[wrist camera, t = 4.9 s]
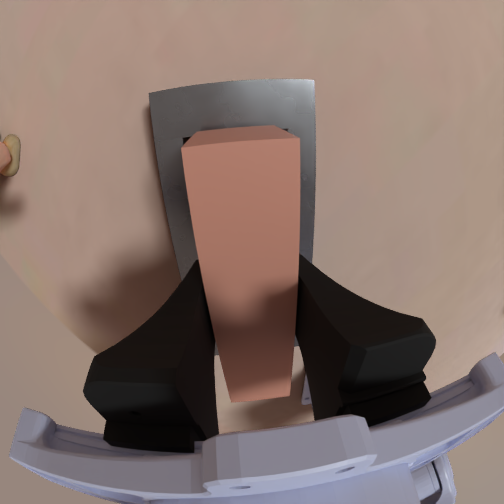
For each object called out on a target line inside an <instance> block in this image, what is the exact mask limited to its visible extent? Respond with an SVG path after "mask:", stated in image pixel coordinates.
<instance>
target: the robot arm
mask: <svg viewBox="0 0 504 504" xmlns="http://www.w3.org/2000/svg"><path fill="white" fill-rule="evenodd" d="M295 336H296V338H297V341H298V344H299V347H300V350H301V354H302V357H303V362H304V366H305V371H306V375H305V381H304V387H303V393H302V399H301V403H302V404H303V405H308V404H311V405H312V409H313V413H314V420H315V421H312V422H307V423H301V424H295V425H289V426H283V427H276V428H268V429H259V430H250V431H238V432H232V433H225V434H219V429H218V419H217V407H216V393H215V375H214V355H215V342H216V340H215V335H214V331H213V327H212V322H211V318H210V313H209V308H208V304H207V299H206V294H205V289H204V284H203V279H202V274H201V269H200V264H199V260H196V261H195V262H194V263H193V265H192V267H191V268H190V270H189V271H188V273H187V274H186V276H185V277H184V279H183V280H182V282H181V283H180V284H179V286H178V287H177V289H176V290H175V291H174V292H173V294H172V295H171V296H170V297H169V299H168V300H167V301H166V302H165V304H164V305H163V306H162V307H161V308H160V309H159V310H158V311H157V312H156V313H155V314H154V315H153V316H152V317H151V318H150V319H149V320H147V321H146V322H145V323H144V324H143V325H142V326H140V327H139V328H138V329H137V330H136V331H134V332H133V333H131V334H130V335H129V336H127V337H126V338H124V339H123V340H122V341H120V342H119V343H117V344H115V345H114V346H112V347H110V348H108V349H107V350H105V351H103V352H101V353H100V354H98V355H96V356H94V358H93V361H92V363H91V366H90V369H89V372H88V375H87V379H86V382H85V386H84V389H83V393H84V396H85V397H86V399H87V400H88V402H89V403H90V404H91V405H92V406H93V407H94V408H95V409H96V410H97V411H98V412H99V413H100V414H101V415H102V416H103V417H104V418H105V419H106V424H105V430H104V434H100V433H95V432H89V431H84V430H79V429H75V428H70V427H66V426H62V425H58V424H56V423H55V422H54V421H53V420H52V419H51V418H50V417H49V416H47V415H46V414H44V413H41V412H38V411H35V410H32V409H28V408H23V410H22V413H21V416H20V419H19V422H18V425H17V428H16V431H15V435H14V438H13V442H12V446H11V450H10V454H9V457H10V458H11V459H12V460H14V461H16V462H17V463H19V464H21V465H22V466H24V467H25V468H27V469H29V470H31V471H32V472H34V473H36V474H38V475H39V476H41V477H43V478H45V479H47V480H49V481H52V482H55V483H57V484H60V485H62V486H65V487H68V488H70V489H73V490H76V491H79V492H82V493H85V494H88V495H91V496H95V497H98V498H102V499H105V500H109V501H113V502H117V503H121V504H455V502H456V500H455V497H456V495H457V492H456V488H455V485H454V481H453V478H454V476H453V471H452V468H451V464H450V461H449V459H448V456H447V452H449V451H450V450H452V449H453V448H455V447H457V446H458V445H460V444H461V443H463V442H465V441H466V440H468V439H469V438H471V437H472V436H474V435H475V434H476V433H478V432H479V431H481V430H482V429H484V428H485V427H486V426H488V425H489V424H490V423H491V422H492V421H494V420H495V419H496V418H497V417H498V416H499V415H500V414H501V413H502V412H504V364H503V362H502V361H501V359H500V358H499V357H498V355H497V354H496V352H494V353H492V354H490V355H489V356H487V357H485V358H483V359H481V360H480V361H479V362H478V363H476V364H475V365H474V367H473V368H472V369H471V371H470V372H469V374H468V375H467V376H465V377H463V378H461V379H459V380H457V381H455V382H453V383H451V384H449V385H447V386H445V387H442V388H440V389H438V390H436V391H434V392H431V393H429V392H428V390H427V388H426V386H425V384H424V382H423V381H425V380H426V376H425V374H424V372H423V368H424V367H425V365H426V364H427V362H428V360H429V359H430V357H431V355H432V353H433V351H434V349H435V345H436V339H435V336H434V335H433V333H432V332H431V330H430V329H429V328H428V326H427V325H426V323H425V322H424V320H423V319H422V318H418V317H414V316H410V315H406V314H402V313H399V312H396V311H393V310H390V309H387V308H384V307H382V306H379V305H377V304H375V303H373V302H370V301H368V300H366V299H364V298H362V297H360V296H358V295H356V294H354V293H353V292H351V291H349V290H347V289H346V288H344V287H342V286H341V285H339V284H338V283H336V282H335V281H334V280H332V279H331V278H329V277H328V276H327V275H325V274H324V273H323V272H321V271H320V270H319V269H318V268H316V267H315V266H314V265H313V264H312V263H310V262H309V261H308V260H307V259H306V258H305V257H304V256H302V255H301V254H300V253H299V270H298V292H297V310H296V326H295Z"/></svg>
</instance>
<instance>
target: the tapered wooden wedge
mask: <svg viewBox="0 0 504 504" xmlns="http://www.w3.org/2000/svg"><path fill="white" fill-rule="evenodd" d="M181 152H182V159H183V167H184V174H185V181H186V188H187V194H188V201H189V207H190V213H191V219H192V225H193V231H194V237H195V242H196V248H197V253H198V259H199V264H200V269H201V274H202V279H203V284H204V289H205V294H206V299H207V304H208V308H209V313H210V318H211V322H212V327H213V331H214V335H215V340H216V344H217V348H218V352H219V356H220V361H221V365H222V369H223V373H224V377H225V380H226V384H227V388H228V392H229V396H230V399H231V402H243V401H253V400H262V399H271V398H278V397H285V396H290V387H291V377H292V366H293V353H294V340H295V326H296V310H297V292H298V270H299V240H300V138H299V137H297V136H295V135H293V134H291V133H289V132H287V131H285V130H283V129H281V128H279V127H277V126H274V125H266V126H249V127H235V128H224V129H215V130H206V131H198V132H196V133H195V134H194V135H193V136H192V137H191V138H190V139H189V140H188V141H187V142H186V143H185V144H184V145H183V146H182V147H181Z"/></svg>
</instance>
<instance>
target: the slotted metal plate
mask: <svg viewBox="0 0 504 504" xmlns="http://www.w3.org/2000/svg"><path fill="white" fill-rule="evenodd" d="M149 101H150V110H151V119H152V127H153V134H154V142H155V149H156V155H157V162H158V168H159V174H160V180H161V186H162V192H163V197H164V202H165V208H166V213H167V218H168V223H169V228H170V232H171V237H172V242H173V246H174V251H175V255H176V259H177V264H178V268H179V272H180V276H181V280H183V279H184V277H185V276H186V274H187V273H188V271H189V270H190V268H191V267H192V265H193V263H194V262H195V261H196V260H199V259H198V253H197V248H196V242H195V237H194V231H193V225H192V219H191V213H190V207H189V201H188V194H187V188H186V181H185V174H184V167H183V159H182V152H181V147H182V146H183V145H184V144H185V143H186V142H187V141H188V140H189V137H191V136H193V135H194V134H195V133H196V132H198V131H206V130H215V129H224V128H235V127H249V126H266V125H274V126H277V127H279V128H281V129H283V130H285V131H287V132H289V133H291V134H293V135H295V136H297V137H299V138H300V240H299V253H300V254H301V255H302V256H304V257H305V258H306V259H307V260H308V261H309V262H310V263H312V255H313V238H314V215H315V179H316V124H315V90H314V80H304V79H261V80H241V81H227V82H217V83H208V84H200V85H192V86H185V87H179V88H173V89H167V90H162V91H157V92H152V93H149ZM295 346H299V344H298V341H297V338H296V336H295V340H294V347H295ZM215 355H219V352H218V348H217V344H216V342H215Z"/></svg>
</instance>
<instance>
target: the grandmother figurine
mask: <svg viewBox="0 0 504 504" xmlns="http://www.w3.org/2000/svg"><path fill="white" fill-rule="evenodd" d="M19 155H20V141H19V138H18V137H17V136H15V135H13V134H10V135H8V136H7V137H6V138H5V139H4V141H3V143H2V142H0V174H2V175H4V176H13V175H15V174H16V172H17V170H18V167H19Z"/></svg>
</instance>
